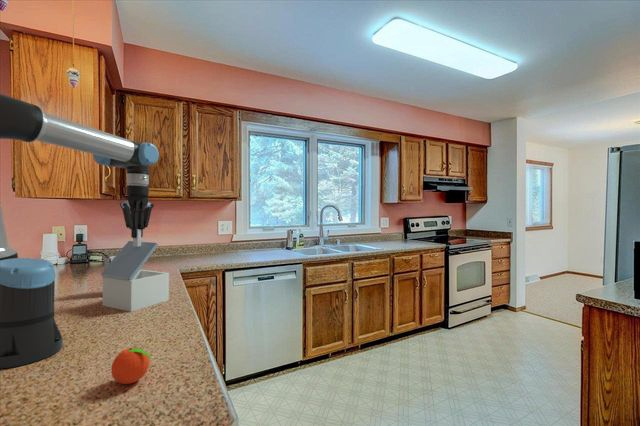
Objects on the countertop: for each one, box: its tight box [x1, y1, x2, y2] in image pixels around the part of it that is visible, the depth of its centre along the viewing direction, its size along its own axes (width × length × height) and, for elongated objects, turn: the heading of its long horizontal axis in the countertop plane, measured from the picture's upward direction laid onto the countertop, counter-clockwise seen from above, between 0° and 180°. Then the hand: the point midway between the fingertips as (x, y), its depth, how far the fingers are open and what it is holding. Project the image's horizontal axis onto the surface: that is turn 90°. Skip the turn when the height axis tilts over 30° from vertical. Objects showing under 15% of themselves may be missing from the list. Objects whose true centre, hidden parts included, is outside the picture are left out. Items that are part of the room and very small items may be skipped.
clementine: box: [110, 347, 152, 385], centre depth 67 cm, size 8×7×7 cm
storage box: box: [102, 269, 170, 312], centre depth 124 cm, size 16×16×11 cm
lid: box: [100, 240, 159, 281], centre depth 121 cm, size 17×16×1 cm
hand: (136, 246), depth 124 cm, fingers closed
